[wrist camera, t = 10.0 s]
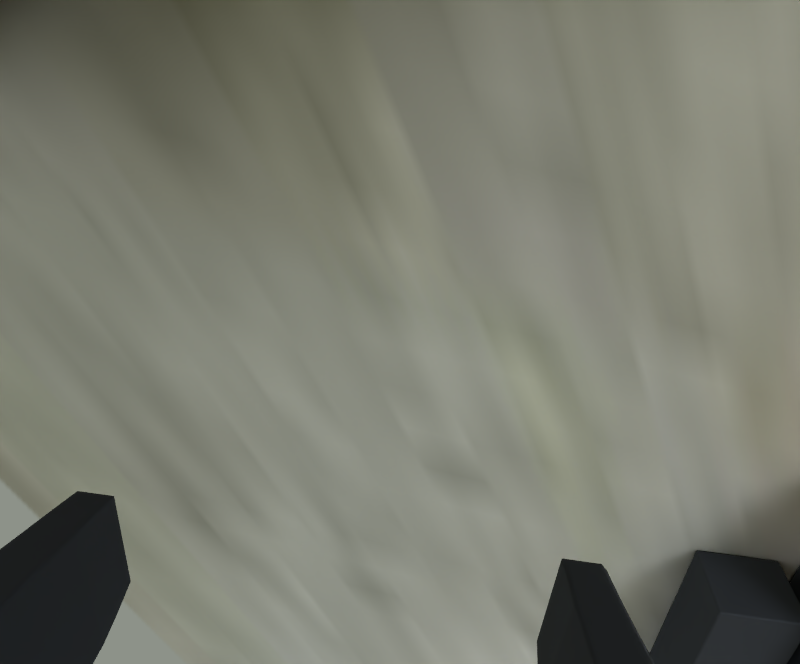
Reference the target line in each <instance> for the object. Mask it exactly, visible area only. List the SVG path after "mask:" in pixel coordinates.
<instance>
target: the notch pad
mask: <svg viewBox="0 0 800 664" xmlns="http://www.w3.org/2000/svg"><path fill="white" fill-rule="evenodd" d="M799 644H800V603H799V601H798V599H797V597H796V595H795V593H794V591H793V589H792V587H791V585H790V583H789V581H788V579H787V577H786V575H785V573H784V571H783V569H782V567H781V565H780V563H779V562H777V561H770V560H763V559H756V558H748V557H741V556H734V555H726V554H719V553H712V552H705V551H696V553H695V555H694V557H693V559H692V562H691V564H690V566H689V568H688V570H687V573H686V575H685V577H684V579H683V582H682V584H681V586H680V588H679V590H678V593H677V595H676V597H675V599H674V601H673V604H672V606H671V608H670V610H669V612H668V615H667V617H666V619H665V621H664V624H663V626H662V628H661V630H660V632H659V635H658V637H657V639H656V641H655V643H654V646H653V648H652V650H651V652H650V656H651V658H652V660H653V662H654V663H655V664H787V663H788V661H789V660H790V658H791V656H792V655H793V653H794V652H795V650H796V649H797V647H798V645H799Z"/></svg>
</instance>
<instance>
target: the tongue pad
mask: <svg viewBox="0 0 800 664" xmlns="http://www.w3.org/2000/svg"><path fill="white" fill-rule="evenodd" d="M790 585H791V587H792V589H793V591H794V593H795V595H796V597H797V599H798V601H799V603H800V567H799V568H798V570H797V572H796V574H795V575H794V577H793V579H792V581H791V582H790ZM787 664H800V644H799V645H798V647H797V649H796V650H795V652H794V653H793V655H792V656H791V658H790V660H789V661H788V663H787Z"/></svg>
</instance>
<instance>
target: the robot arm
mask: <svg viewBox="0 0 800 664" xmlns="http://www.w3.org/2000/svg"><path fill="white" fill-rule="evenodd" d="M129 584H130V576H129V571H128V566H127V560H126V555H125V550H124V545H123V540H122V535H121V530H120V525H119V520H118V515H117V510H116V505H115V499H114V496H109V495H101V494H94V493H87V492H80V491H77V492H76V493H75V494H73V495H72V496H70V497H69V498H68V499H66V500H65V501H64V502H62V503H61V504H60V505H58V506H57V507H56V508H54V509H53V510H52V511H50V512H49V513H48V514H46V515H45V516H44V517H42V518H41V519H40V520H38V521H37V522H36V523H34V524H33V525H32V526H30V527H29V528H28V529H27V530H25V531H24V532H23V533H21V534H20V535H19V536H17V537H16V538H15V539H13V540H12V541H11V542H10V543H8V544H7V545H5V546H4V547H3V548H1V549H0V664H93V662H94V660H95V659H96V657H97V655H98V653H99V651H100V650H101V648H102V646H103V644H104V642H105V639H106V637H107V635H108V633H109V631H110V628H111V626H112V624H113V622H114V620H115V617H116V615H117V613H118V610H119V608H120V605H121V603H122V601H123V598H124V596H125V593H126V591H127V589H128V586H129ZM537 657H538V664H655V663H654V662H653V660H652V658H651V656H650V654H649V652H648V651H647V649H646V647H645V645H644V643H643V641H642V639H641V637H640V636H639V634H638V632H637V630H636V628H635V626H634V624H633V622H632V620H631V618H630V617H629V615H628V613H627V611H626V609H625V607H624V605H623V603H622V601H621V599H620V597H619V595H618V593H617V591H616V589H615V587H614V585H613V583H612V581H611V578H610V576H609V574H608V572H607V570H606V569H605V568H604V567H603V565H602V564H597V563H589V562H582V561H575V560H568V559H562V560H561V563H560V567H559V570H558V573H557V577H556V580H555V583H554V587H553V590H552V593H551V597H550V600H549V603H548V606H547V610H546V613H545V616H544V620H543V623H542V626H541V630H540V633H539V636H538V640H537Z"/></svg>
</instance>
